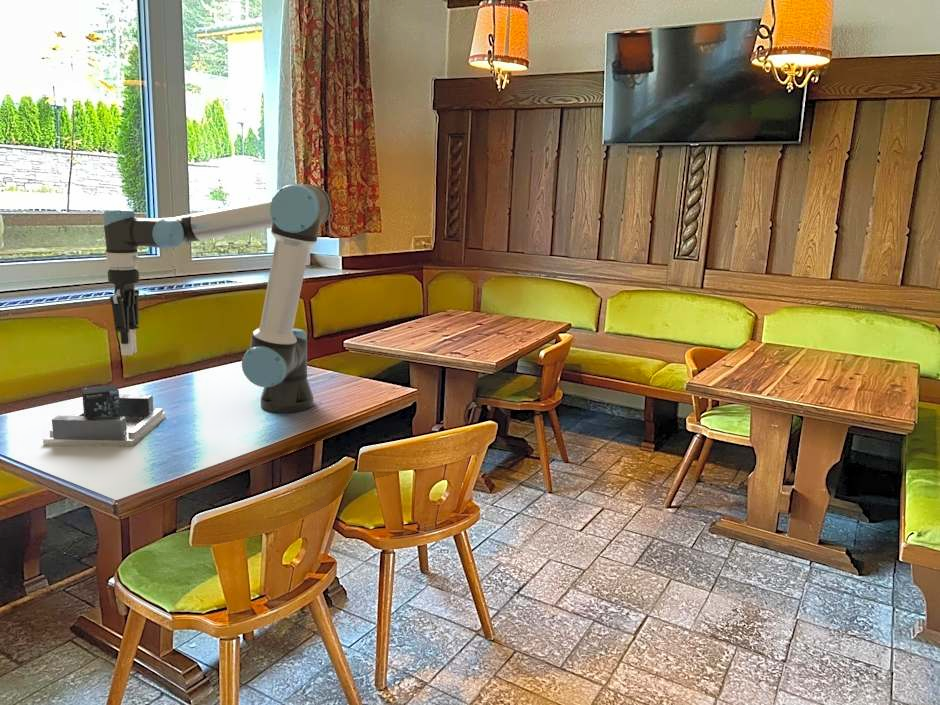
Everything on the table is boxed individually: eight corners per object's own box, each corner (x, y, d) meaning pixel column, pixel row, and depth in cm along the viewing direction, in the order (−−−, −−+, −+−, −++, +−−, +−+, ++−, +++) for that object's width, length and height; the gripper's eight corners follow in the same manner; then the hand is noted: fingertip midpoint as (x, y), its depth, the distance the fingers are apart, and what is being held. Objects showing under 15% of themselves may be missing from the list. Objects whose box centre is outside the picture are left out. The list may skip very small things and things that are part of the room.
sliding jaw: (153, 412, 190) (152, 395, 189) (149, 416, 187) (148, 398, 186) (92, 411, 189) (91, 393, 188) (87, 415, 186) (85, 397, 185)
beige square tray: (165, 417, 192) (164, 394, 191) (133, 446, 171) (131, 421, 169) (86, 415, 191) (84, 392, 189) (43, 445, 169) (40, 419, 168)
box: (87, 434, 173) (83, 393, 171) (84, 427, 178) (81, 387, 175) (122, 429, 177) (119, 389, 175) (119, 423, 182) (116, 383, 179)
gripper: (125, 272, 180) (132, 360, 185) (148, 265, 195) (153, 347, 200) (95, 271, 179) (102, 360, 185) (120, 264, 194) (126, 346, 199)
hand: (129, 353), depth 192 cm, fingers open, 2 cm apart
